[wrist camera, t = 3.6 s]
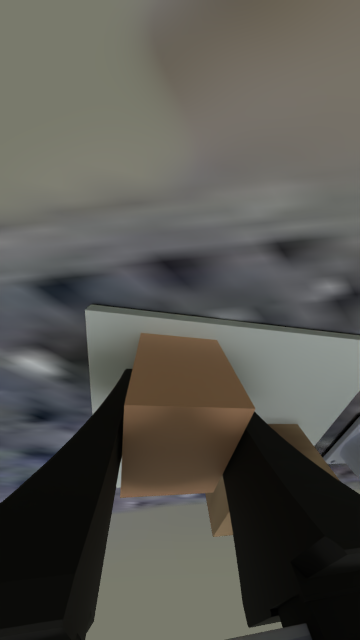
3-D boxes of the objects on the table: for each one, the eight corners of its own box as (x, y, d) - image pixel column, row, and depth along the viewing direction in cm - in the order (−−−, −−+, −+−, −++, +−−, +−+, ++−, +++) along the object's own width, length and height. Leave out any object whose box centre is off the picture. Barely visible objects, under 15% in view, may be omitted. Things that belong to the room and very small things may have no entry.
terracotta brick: (216, 340, 10) (255, 408, 6) (196, 409, 12) (213, 492, 8) (140, 332, 9) (124, 404, 5) (134, 408, 12) (120, 497, 8)
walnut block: (297, 424, 14) (343, 485, 11) (266, 468, 17) (295, 528, 14) (220, 423, 13) (242, 491, 10) (201, 470, 16) (212, 537, 12)
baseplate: (383, 338, 12) (397, 344, 11) (282, 470, 19) (286, 479, 19) (91, 304, 9) (85, 309, 8) (100, 477, 16) (97, 488, 16)
